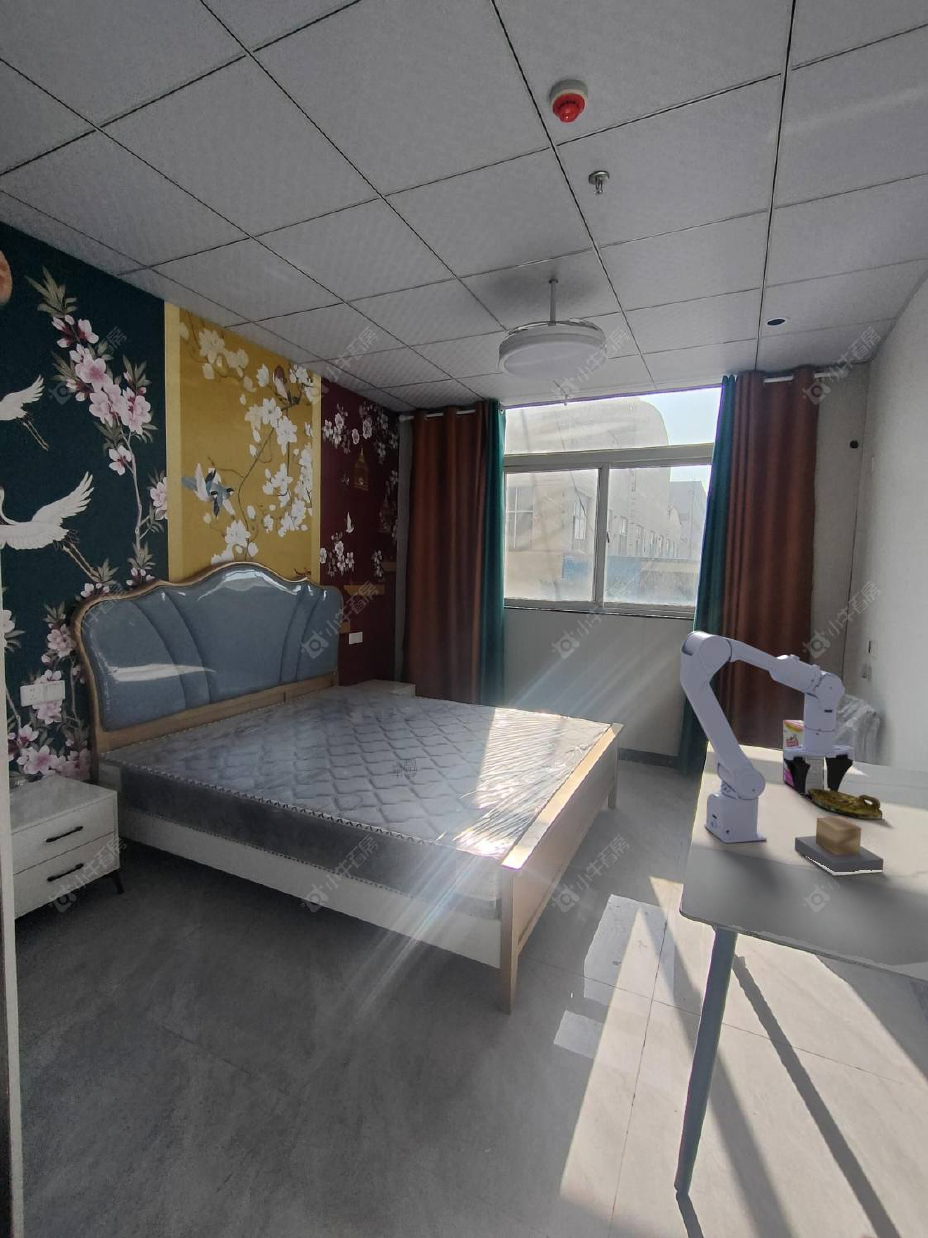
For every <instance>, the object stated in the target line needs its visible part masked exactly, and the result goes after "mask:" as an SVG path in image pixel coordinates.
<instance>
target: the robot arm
mask: <svg viewBox="0 0 928 1238" xmlns="http://www.w3.org/2000/svg"><path fill="white" fill-rule="evenodd" d="M679 653H680V667H679V682H680V685H681V687H682V689H683V692H684V693H685V695H686V697H687V699H688V701H689V703H690V705H691V707H692V709H693V712H694V713H695V715H696V717H697V719H698V721H699V723H700V726H701V728H702V729H703V731H704V733H705V735H706V738H707V739H708V741H709V744H710V745H711V748H712V749H713V751H714V752H713V753H714V755H713V759H714V761H715V764H716V769H715V770H716V774H717V776H718V778H719V779H720V780H721V784H720V790H718V791H716V792H715V793H714V792H713V793H711V794H709V795H708V797H707V800H706V818H705V819H706V820H705V821H706V822H705V823H704V824H703V827H705V828H706V830H707V829H708V830H709V831H710V832H711V833H712V834H713V835H715V836H716V837H717V838H718V839H720V840H721V841H722V842H723V843H726V844H728V843H741V842H742V843H743V842H755V841H756V842H757V841H766V840H767V836H765V835H764V834H762V833H761V832H759V831H758V816H759V815H758V814H759V798H760V796H761V795H762V794H763V792H764V791H765V789H766V778H765V777H764V775H763V774H762V773H761V772H760V770H757V769H756V768H755V767H754V765H753V763H752V761H751V760H750V759H749V758H748V755H746V753H745V752H744V751H743V750H742V748H741V746H740V744H739V742H738V740H737V738H736V735H735V734H734V731H733V730H732V728H731V725H730V723H729V722H728V719H727V718H726V716H725V713H724V712H723V709H722V707H721V705H720V704H719V701H718V700H717V697H716V695H715V693H714V691H713V689H712V687H711V685H710V682H711V680H712V679H713V676H714V675H715V674H716V673H717V672H718V671H719V670H720V669H721V668H722V667H723V665H725V664H726V663H727V662H730V663H733V662H735V661H737V660H739V661H742V662H745V663H748V664H750V665H753V666H755V667H759V668H761V669H763V670H766V671H768V672H769V674H770V676H771V679H772V680H774V681H776V682H777V683H781V685H782V684H783V685H784V686H787V687H790V688H792V689H795V690H797V691H800V692H802V694H804V700H803V701H804V703H803V704H804V705H803V721H804V722H803V741H802V745H799V746H795V747H790V748H783V747H782V759H784V761H785V763H786V765H787V767H788V769H789V771H790V774H791V777H792V780H793V785H794V787H793V788H794V789H793V790H794V791H795V792H798V793H799V794H800V795H801V794H803V793H804V792H805V786H806V777H807V773H808V770H809V768H810V766H811V765H810V764H808V763H806V762H805V760H803V758H819V757H824V762H825V764H826V766H825V767H826V785H827V789H829V790H830V789H831V790H833V791H835V792H838V791H839V790H840V786H841V784H842V781H843V779H844V777H845V776H846V773H847V772H848V770H850V768H851V767H852V766H853V763H854V762H853V761H854V760H852V759H851V758H854V748H853V747H851V746H849V745H845V744H844V745H838V744H837V745H836V732H837V731H836V728H837V712H838V711H837V710H838V707H839V702H840V700H841V698H842V697H843V696H844V695H845V691H846V687H844V685H843V682H842V680H841V679H840V677H839V676H838V675H836V674H835V673H832V672H827V671H824V670H821V666H819V665H816V664H812V665H811V664H809V663H807V662H804V661H801V660H800V657H799V656H796V655H795V654H790V655H786V654H784V655H779V656H777V657H775V656H774V655H772V654H769V653H767V652H764V651H762V650H760V649H758V648H755V647H754V646H752V645H748V644H746V643H745V642H742V641H739V640H735V639H732V638H729V637H724V636H720V635H717V634H710V633H707V632H706V631H703V630H694V631H692V632H690V633H688V634H687V635H686V636H685V638H684V639H683V642H682V644H681V645H680V648H679Z"/></svg>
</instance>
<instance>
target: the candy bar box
mask: <svg viewBox="0 0 928 1238" xmlns="http://www.w3.org/2000/svg"><path fill="white" fill-rule="evenodd" d="M803 722H804V720H801V719H799V720H798V719H796V720H795V719H784V720H782V749H783V748H790V747H795V746H799V745H802V741H803ZM782 759H783V758H782ZM803 760H805V762H806V763H808V764H810V765H811V766H810V768H809V770H808V773H807V777H806V786H805V792H804V793H802V794H803V795H806V796H807V795H808V796H810V794H808V790H810V789H820V790H825V757H819V758H803ZM782 767H783V768H782V781H783V782H784V783H786V784H787V785H789V786H791V787H792V788H794V785H793V780H792V777H791V774H790V771H789V769H788V767H787V765H786V763H785V761H784V759H783V760H782Z"/></svg>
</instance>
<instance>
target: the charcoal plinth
mask: <svg viewBox="0 0 928 1238" xmlns="http://www.w3.org/2000/svg"><path fill="white" fill-rule="evenodd" d="M794 851H796V852H797V853H799V852H800V853H799V854H801V855H802V854H803V855H802V856H803V857H805V856H807V857H809V858H810V859H812V860H814V861H816V862H818V863H820V864H821V865H824V866H826V867H827V868H829V869H830V870H832V871H834V872H855V871H859V870H871V871H872V870H884V859H883V858H882V857H880V856H879V855H877V854H875V853H873V852H872V851H870V850H868V849H867V848H866V847H863V846H861V845H860V853H858V854H846V855H835V854H833V853H831V852H830V851H828V850H827V849H825V848H824V847H822V846H821V845H819V844H817V843H816V835H810V836H807V835H806V836H796V837H795V838H794Z"/></svg>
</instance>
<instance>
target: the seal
mask: <svg viewBox="0 0 928 1238" xmlns="http://www.w3.org/2000/svg"><path fill="white" fill-rule="evenodd" d="M808 794H810V795H809V797H811V799H812V800H811V801H813V802H815V804H817V805H818V806H820V807H822V808H824V809H825V810H829V811H831V812H834V813H836V814H837V813H838V814H843V815H845V816H846V815H847V816H849V817H853V818H857V819H866V820H881V819H882V818H883V811H882V810H881V809H880V808H881V802H880V799H878V798H876V797H873V796H871V795H870V796H869V795H867V794H860V795H859V796H858V797H857V796H854V795H850V794H847V793H843V792H841V791H839V790H838V792H835V791H833V790H831V789H829V790H828V789H824V790H820V789H810V790H808ZM869 802H870V803H869Z"/></svg>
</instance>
